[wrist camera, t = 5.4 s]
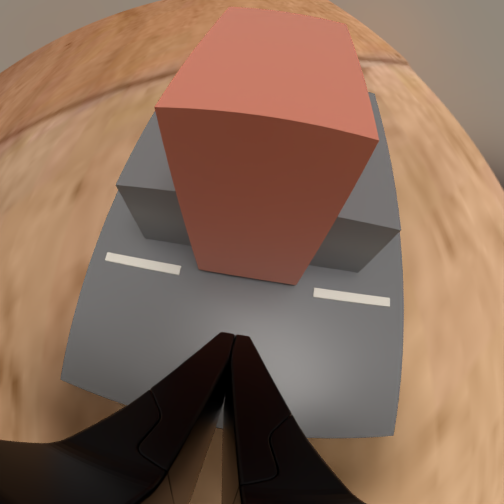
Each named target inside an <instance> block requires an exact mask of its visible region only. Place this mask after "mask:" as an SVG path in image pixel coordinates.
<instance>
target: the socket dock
mask: <svg viewBox="0 0 504 504" xmlns="http://www.w3.org/2000/svg"><path fill="white" fill-rule="evenodd" d="M368 94H369V98H370V102H371V106H372V110H373V114H374V119H375V123H376V128H377V132H378V137H379V142H378V144H377V146H376V148H375V150H374V151H373V153H372V155H371V157H370V159H369V161H368V163H367V165H366V166H365V168H364V170H363V172H362V174H361V176H360V178H359V179H358V181H357V183H356V185H355V187H354V188H353V190H352V192H351V194H350V196H349V197H348V199H347V201H346V203H345V204H344V206H343V208H342V210H341V211H340V213H339V215H338V217H337V218H336V220H335V222H334V224H333V225H332V227H331V229H330V230H329V232H328V234H327V235H326V237H325V239H324V241H323V242H322V244H321V246H320V247H319V249H318V251H317V252H316V254H315V256H314V257H313V259H312V260H311V262H310V264H309V265H308V267H307V269H306V270H305V272H304V273H303V275H302V277H301V278H300V280H299V281H298V283H297V285H291V284H285V283H278V282H272V281H265V280H259V279H253V278H247V277H241V276H235V275H229V274H223V273H217V272H211V271H205V270H199V269H198V266H197V262H196V259H195V256H194V253H193V250H192V246H191V243H190V240H189V236H188V233H187V230H186V226H185V223H184V219H183V216H182V213H181V209H180V205H179V202H178V198H177V195H176V191H175V187H174V184H173V180H172V176H171V173H170V169H169V165H168V161H167V157H166V153H165V149H164V145H163V141H162V137H161V133H160V129H159V125H158V120H157V116H156V112H154V114H153V115H152V117H151V119H150V120H149V122H148V124H147V126H146V127H145V129H144V131H143V133H142V134H141V136H140V138H139V140H138V142H137V144H136V145H135V147H134V149H133V151H132V153H131V155H130V157H129V159H128V161H127V163H126V165H125V167H124V169H123V171H122V173H121V175H120V177H119V179H118V181H117V183H116V186H117V188H118V192H117V194H116V197H115V199H114V201H113V204H112V206H111V208H110V211H109V213H108V216H107V218H106V220H105V223H104V225H103V228H102V231H101V233H100V236H99V238H98V241H97V244H96V247H95V249H94V252H93V255H92V258H91V261H90V264H89V267H88V270H87V273H86V276H85V279H84V282H83V286H82V289H81V292H80V296H79V299H78V303H77V306H76V310H75V314H74V318H73V321H72V325H71V330H70V334H69V338H68V343H67V347H66V352H65V357H64V362H63V367H62V373H61V380H63V381H65V382H67V383H70V384H72V385H74V386H77V387H79V388H81V389H84V390H86V391H89V392H91V393H94V394H97V395H99V396H102V397H105V398H108V399H110V400H113V401H116V402H119V403H122V404H125V405H128V404H130V403H131V402H133V401H134V400H135V399H137V398H138V397H140V396H141V395H142V394H144V393H145V392H146V391H147V390H150V388H152V387H153V386H154V385H155V384H157V383H158V382H159V381H161V380H162V379H163V378H164V377H166V376H167V375H168V374H169V373H171V372H172V371H173V370H174V369H176V368H177V367H178V366H179V365H181V364H182V363H183V362H184V361H186V360H187V359H188V358H189V357H191V356H192V355H193V354H194V353H196V352H197V351H198V350H199V349H201V348H202V347H203V346H204V345H205V344H207V343H208V342H209V341H210V340H211V339H213V338H214V337H215V336H216V335H218V334H219V333H220V332H227V333H233V334H234V335H235V336H236V335H237V334H239V335H245V336H249V337H250V338H251V340H252V341H253V343H254V345H255V347H256V349H257V351H258V353H259V355H260V357H261V358H262V360H263V362H264V364H265V366H266V368H267V370H268V371H269V373H270V375H271V377H272V379H273V381H274V382H275V384H276V386H277V388H278V390H279V391H280V393H281V395H282V397H283V399H284V400H285V402H286V404H287V406H288V407H289V409H290V411H291V413H292V415H293V416H294V418H295V420H296V421H297V423H298V425H299V427H300V428H301V430H302V431H303V433H304V434H305V436H306V438H366V437H383V436H393V435H394V429H395V423H396V416H397V408H398V400H399V391H400V381H401V369H402V354H403V325H404V298H403V270H402V254H401V241H400V231H401V226H400V217H399V209H398V202H397V195H396V188H395V182H394V176H393V171H392V165H391V160H390V155H389V150H388V146H387V141H386V137H385V132H384V128H383V124H382V120H381V116H380V112H379V108H378V105H377V101H376V98H375V94H373V93H370V92H368ZM224 400H225V399H224ZM223 410H224V403H223V407H222V410H221V413H220V416H219V419H218V422H217V425H216V428H222V429H223Z"/></svg>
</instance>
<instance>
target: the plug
mask: <svg viewBox="0 0 504 504" xmlns="http://www.w3.org/2000/svg"><path fill="white" fill-rule="evenodd" d="M155 112H156V116H157V120H158V125H159V129H160V133H161V137H162V141H163V145H164V149H165V153H166V157H167V161H168V165H169V169H170V173H171V176H172V180H173V184H174V187H175V191H176V195H177V198H178V202H179V205H180V209H181V213H182V216H183V219H184V223H185V226H186V230H187V233H188V236H189V240H190V243H191V246H192V250H193V253H194V256H195V259H196V262H197V266H198V269H199V270H205V271H211V272H217V273H223V274H229V275H235V276H241V277H247V278H253V279H259V280H265V281H272V282H278V283H285V284H291V285H297V283H298V281H299V280H300V278H301V277H302V275H303V273H304V272H305V270H306V269H307V267H308V265H309V264H310V262H311V260H312V259H313V257H314V256H315V254H316V252H317V251H318V249H319V247H320V246H321V244H322V242H323V241H324V239H325V237H326V235H327V234H328V232H329V230H330V229H331V227H332V225H333V224H334V222H335V220H336V218H337V217H338V215H339V213H340V211H341V210H342V208H343V206H344V204H345V203H346V201H347V199H348V197H349V196H350V194H351V192H352V190H353V188H354V187H355V185H356V183H357V181H358V179H359V178H360V176H361V174H362V172H363V170H364V168H365V166H366V165H367V163H368V161H369V159H370V157H371V155H372V153H373V151H374V150H375V148H376V146H377V144H378V142H379V137H378V132H377V128H376V123H375V119H374V114H373V110H372V106H371V102H370V98H369V94H368V90H367V87H366V83H365V80H364V76H363V73H362V69H361V66H360V63H359V60H358V57H357V54H356V51H355V48H354V45H353V42H352V39H351V36H350V33H349V31H348V28H347V25H346V24H343V23H339V22H335V21H331V20H327V19H322V18H317V17H312V16H307V15H302V14H296V13H289V12H282V11H274V10H266V9H255V8H241V7H229V8H228V9H227V10H226V11H225V12H224V13H223V15H222V16H221V17H220V18H219V19H218V20H217V22H216V23H215V24H214V25H213V26H212V27H211V29H210V30H209V31H208V32H207V34H206V35H205V36H204V37H203V39H202V40H201V41H200V42H199V44H198V45H197V46H196V48H195V49H194V50H193V51H192V53H191V54H190V56H189V57H188V58H187V60H186V61H185V62H184V64H183V65H182V66H181V68H180V69H179V71H178V72H177V74H176V75H175V76H174V78H173V79H172V81H171V82H170V84H169V85H168V87H167V88H166V90H165V91H164V93H163V94H162V96H161V98H160V99H159V101H158V102H157V104H156V106H155Z"/></svg>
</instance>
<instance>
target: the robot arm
mask: <svg viewBox="0 0 504 504" xmlns="http://www.w3.org/2000/svg"><path fill="white" fill-rule="evenodd" d="M224 399H225V400H224ZM223 403H224V410H223V443H222V504H366V503H364V502H363V501H361V500H360V499H358V498H357V497H356V496H355V495H354V494H353V493H351V491H350V490H349V489H348V488H347V487H346V486H345V485H344V484H343V483H342V481H341V480H340V479H339V478H338V477H337V476H336V474H335V473H334V472H333V471H332V470H331V468H330V467H329V466H328V465H327V464H326V462H325V461H324V460H323V459H322V458H321V456H320V455H319V454H318V453H317V451H316V450H315V449H314V447H313V446H312V445H311V443H310V442H309V441H308V439H307V438H306V436H305V434H304V433H303V431H302V430H301V428H300V427H299V425H298V423H297V421H296V420H295V418H294V416H293V415H292V413H291V411H290V409H289V407H288V406H287V404H286V402H285V400H284V399H283V397H282V395H281V393H280V391H279V390H278V388H277V386H276V384H275V382H274V381H273V379H272V377H271V375H270V373H269V371H268V370H267V368H266V366H265V364H264V362H263V360H262V358H261V357H260V355H259V353H258V351H257V349H256V347H255V345H254V343H253V341H252V340H251V338H250V337H249V336H245V335H239V334H237V335H236V336H235V335H234V334H233V333H227V332H220V333H219V334H218V335H216V336H215V337H214V338H213V339H211V340H210V341H209V342H208V343H207V344H205V345H204V346H203V347H202V348H201V349H199V350H198V351H197V352H196V353H194V354H193V355H192V356H191V357H189V358H188V359H187V360H186V361H184V362H183V363H182V364H181V365H179V366H178V367H177V368H176V369H174V370H173V371H172V372H171V373H169V374H168V375H167V376H166V377H164V378H163V379H162V380H161V381H159V382H158V383H157V384H155V385H154V386H153V387H152V388H150V390H147V391H146V392H145V393H144V394H142V395H141V396H140V397H138V398H137V399H135V400H134V401H133V402H131V403H130V404H128V405H127V406H126V407H124V408H122V409H121V410H119V411H117V412H116V413H114V414H112V415H111V416H109V417H107V418H105V419H103V420H101V421H100V422H98V423H96V424H94V425H92V426H90V427H88V428H86V429H85V430H83V431H81V432H79V433H77V434H75V435H73V436H71V437H69V438H66V439H64V440H61V441H57V442H53V443H26V442H14V441H5V440H0V504H189V502H190V499H191V496H192V494H193V491H194V488H195V485H196V482H197V480H198V477H199V474H200V471H201V468H202V466H203V463H204V460H205V457H206V454H207V451H208V448H209V445H210V443H211V440H212V437H213V434H214V431H215V428H216V425H217V422H218V419H219V416H220V413H221V410H222V407H223Z"/></svg>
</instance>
